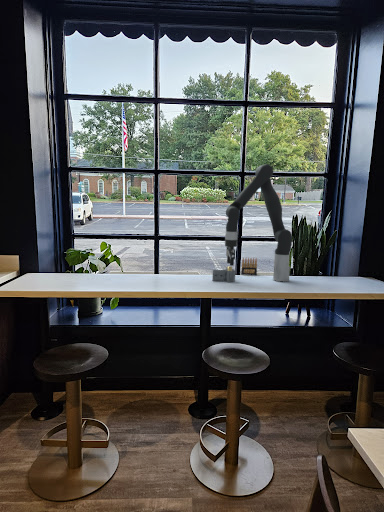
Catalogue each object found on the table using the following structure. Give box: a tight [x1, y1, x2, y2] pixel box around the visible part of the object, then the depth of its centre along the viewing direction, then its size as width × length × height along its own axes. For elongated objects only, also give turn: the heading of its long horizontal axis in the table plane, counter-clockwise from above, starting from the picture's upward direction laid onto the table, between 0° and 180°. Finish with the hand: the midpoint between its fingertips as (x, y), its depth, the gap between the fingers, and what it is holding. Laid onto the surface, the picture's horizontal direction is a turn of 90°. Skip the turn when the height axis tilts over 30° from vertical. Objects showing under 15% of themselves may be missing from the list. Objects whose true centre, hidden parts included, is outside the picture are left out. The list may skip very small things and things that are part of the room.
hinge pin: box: [226, 265, 233, 271], centre depth 221 cm, size 3×3×9 cm
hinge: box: [212, 266, 236, 283], centre depth 224 cm, size 14×14×7 cm
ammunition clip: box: [240, 257, 258, 276], centre depth 241 cm, size 11×2×12 cm, turn 89°
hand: (230, 264), depth 220 cm, fingers open, 8 cm apart
